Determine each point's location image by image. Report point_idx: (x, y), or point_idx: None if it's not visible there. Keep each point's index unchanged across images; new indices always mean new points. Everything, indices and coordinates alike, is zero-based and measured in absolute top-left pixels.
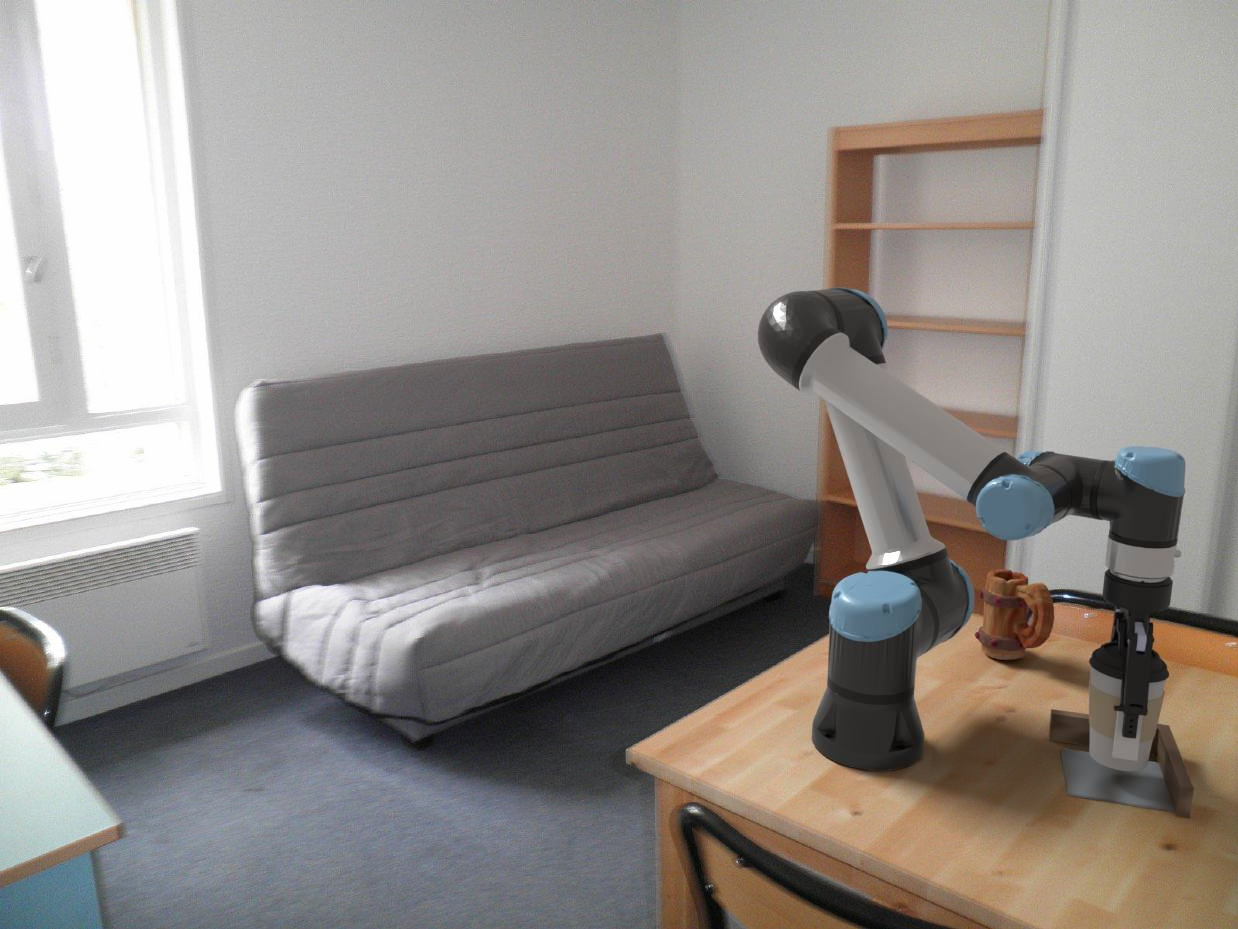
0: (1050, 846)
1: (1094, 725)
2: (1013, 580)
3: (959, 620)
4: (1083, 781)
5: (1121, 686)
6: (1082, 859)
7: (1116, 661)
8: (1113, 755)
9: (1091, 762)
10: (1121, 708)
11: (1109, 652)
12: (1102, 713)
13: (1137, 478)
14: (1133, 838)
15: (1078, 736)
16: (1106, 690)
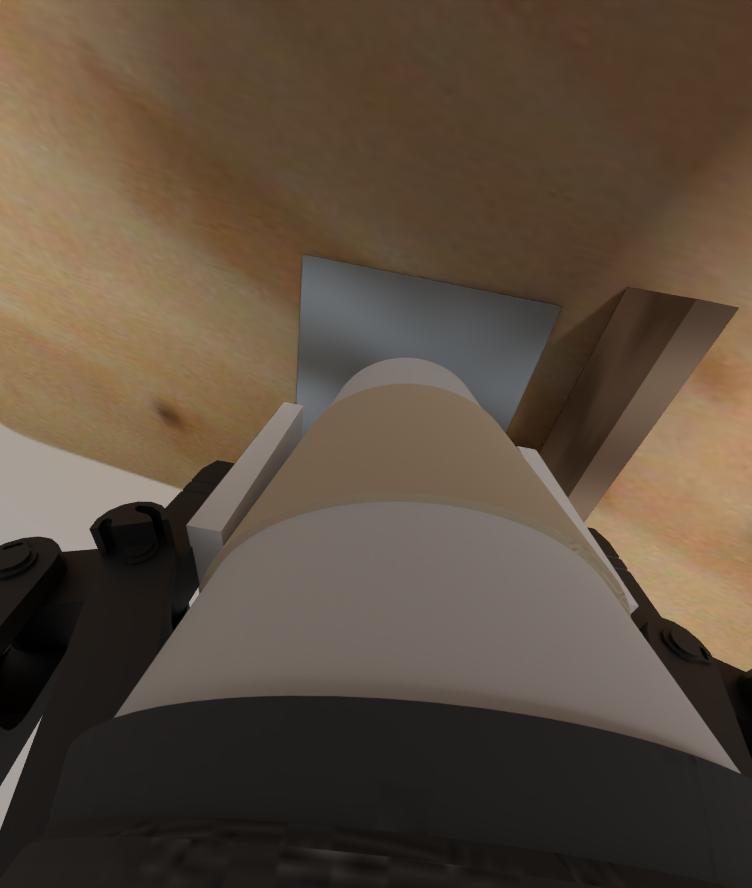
0: (6, 113)
1: (367, 394)
2: None
3: None
4: (374, 319)
5: (123, 682)
6: (4, 204)
7: None
8: (282, 405)
9: (475, 370)
10: (110, 544)
11: None
12: (309, 445)
13: None
14: (166, 360)
15: (597, 373)
16: (238, 558)
